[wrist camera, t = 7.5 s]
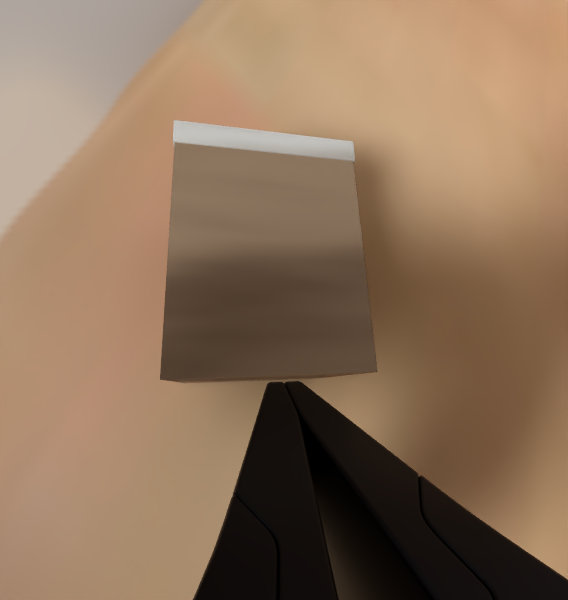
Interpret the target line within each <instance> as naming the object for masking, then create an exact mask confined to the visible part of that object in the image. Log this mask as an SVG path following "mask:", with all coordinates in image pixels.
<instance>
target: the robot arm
mask: <svg viewBox="0 0 568 600" xmlns="http://www.w3.org/2000/svg"><path fill="white" fill-rule="evenodd" d="M193 600H568V579H566V578H565V577H563V576H562V575H560V574H559V573H557V572H556V571H554V570H553V569H551V568H550V567H548V566H547V565H545V564H544V563H543V562H541V561H540V560H538V559H537V558H535V557H534V556H532V555H531V554H529V553H528V552H526V551H525V550H523V549H522V548H520V547H519V546H518V545H516V544H515V543H513V542H512V541H510V540H509V539H507V538H506V537H504V536H503V535H502V534H500V533H499V532H497V531H496V530H494V529H493V528H492V527H490V526H489V525H487V524H486V523H485V522H483V521H482V520H480V519H479V518H477V517H476V516H475V515H473V514H472V513H470V512H469V511H468V510H466V509H465V508H464V507H462V506H461V505H460V504H458V503H457V502H456V501H454V500H453V499H452V498H450V497H449V496H448V495H446V494H445V493H444V492H442V491H441V490H440V489H438V488H437V487H436V486H435V485H433V484H432V483H431V482H429V481H428V480H427V479H426V478H424V477H423V476H419V475H418V473H417V472H416V471H414V470H413V469H412V468H410V467H409V466H408V465H407V464H405V463H404V462H403V461H401V460H400V459H399V458H398V457H396V456H395V455H394V454H393V453H391V452H390V451H389V450H387V449H386V448H385V447H384V446H382V445H381V444H380V443H378V442H377V441H376V440H375V439H373V438H372V437H371V436H370V435H368V434H367V433H366V432H364V431H363V430H362V429H361V428H359V427H358V426H357V425H355V424H354V423H353V422H352V421H350V420H349V419H348V418H346V417H345V416H344V415H343V414H341V413H340V412H339V411H338V410H336V409H335V408H334V407H332V406H331V405H330V404H329V403H327V402H326V401H325V400H323V399H322V398H321V397H320V396H318V395H317V394H316V393H314V392H313V391H312V390H311V389H309V388H308V387H307V386H306V385H304V384H303V383H301V382H300V381H293V382H285V383H283V382H270V383H268V384H267V386H266V390H265V393H264V396H263V399H262V402H261V406H260V409H259V412H258V415H257V418H256V422H255V425H254V428H253V431H252V434H251V438H250V441H249V444H248V447H247V450H246V454H245V457H244V460H243V463H242V467H241V470H240V473H239V476H238V479H237V483H236V486H235V489H234V492H233V497H232V498H231V501H230V504H229V507H228V510H227V513H226V517H225V520H224V522H223V525H222V528H221V531H220V534H219V537H218V540H217V542H216V545H215V548H214V551H213V553H212V556H211V558H210V560H209V563H208V565H207V568H206V570H205V572H204V575H203V577H202V580H201V582H200V584H199V587H198V589H197V592H196V594H195V596H194V598H193Z"/></svg>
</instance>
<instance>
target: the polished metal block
mask: <svg viewBox="0 0 568 600" xmlns="http://www.w3.org/2000/svg"><path fill="white" fill-rule="evenodd" d="M173 144H174V163H173V179H172V195H171V211H170V227H169V244H168V260H167V276H166V292H165V308H164V325H163V341H162V357H161V373H160V380H167V381H174V382H181V383H201V382H228V381H254V380H281V379H308V378H324V377H333V376H343V375H353V374H362V373H372V372H377V364H376V355H375V346H374V338H373V329H372V320H371V312H370V303H369V294H368V285H367V277H366V268H365V259H364V251H363V242H362V233H361V225H360V216H359V207H358V199H357V190H356V181H355V173H354V164H353V163H354V162H355V155H354V147H353V142H352V141H344V140H335V139H327V138H319V137H310V136H302V135H294V134H286V133H277V132H269V131H261V130H252V129H244V128H236V127H227V126H219V125H211V124H202V123H194V122H186V121H177V120H174V131H173Z"/></svg>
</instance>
